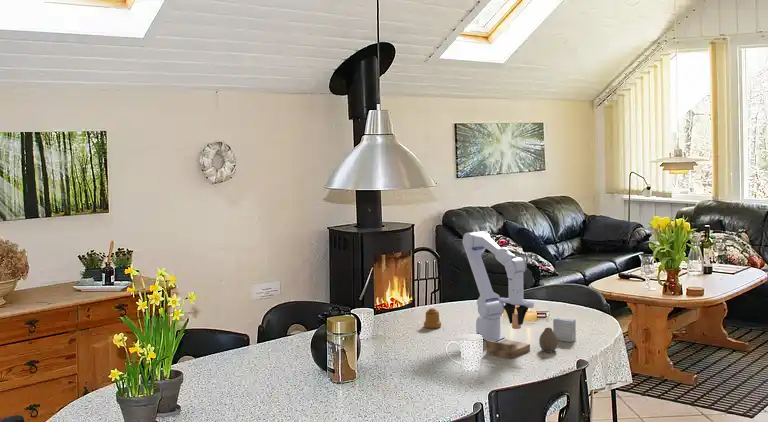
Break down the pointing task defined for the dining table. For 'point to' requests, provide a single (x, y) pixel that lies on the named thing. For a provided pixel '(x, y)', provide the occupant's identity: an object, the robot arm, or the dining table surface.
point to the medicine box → (565, 329)
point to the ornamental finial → (432, 319)
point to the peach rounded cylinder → (515, 321)
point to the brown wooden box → (506, 348)
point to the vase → (548, 340)
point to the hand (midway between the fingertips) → (516, 323)
